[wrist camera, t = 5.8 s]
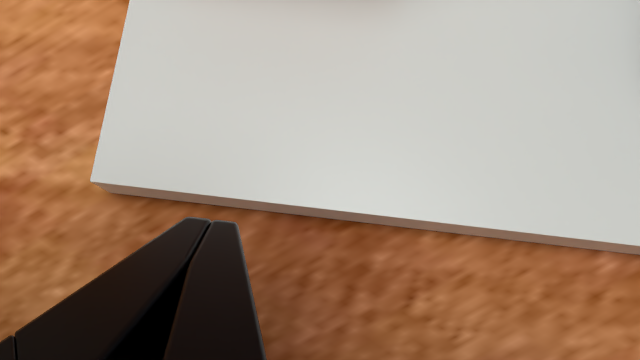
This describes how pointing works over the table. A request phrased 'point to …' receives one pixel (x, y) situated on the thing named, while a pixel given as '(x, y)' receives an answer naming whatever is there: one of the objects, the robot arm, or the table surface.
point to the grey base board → (386, 113)
